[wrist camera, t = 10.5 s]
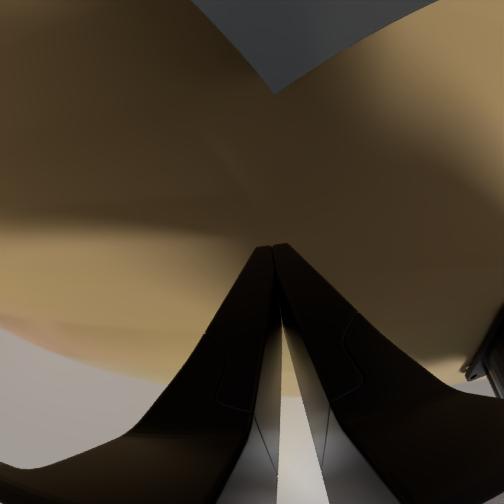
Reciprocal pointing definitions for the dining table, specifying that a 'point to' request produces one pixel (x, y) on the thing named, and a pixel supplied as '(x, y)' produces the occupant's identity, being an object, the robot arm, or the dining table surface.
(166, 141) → the dining table surface
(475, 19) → the dining table surface
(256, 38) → the slate slab
